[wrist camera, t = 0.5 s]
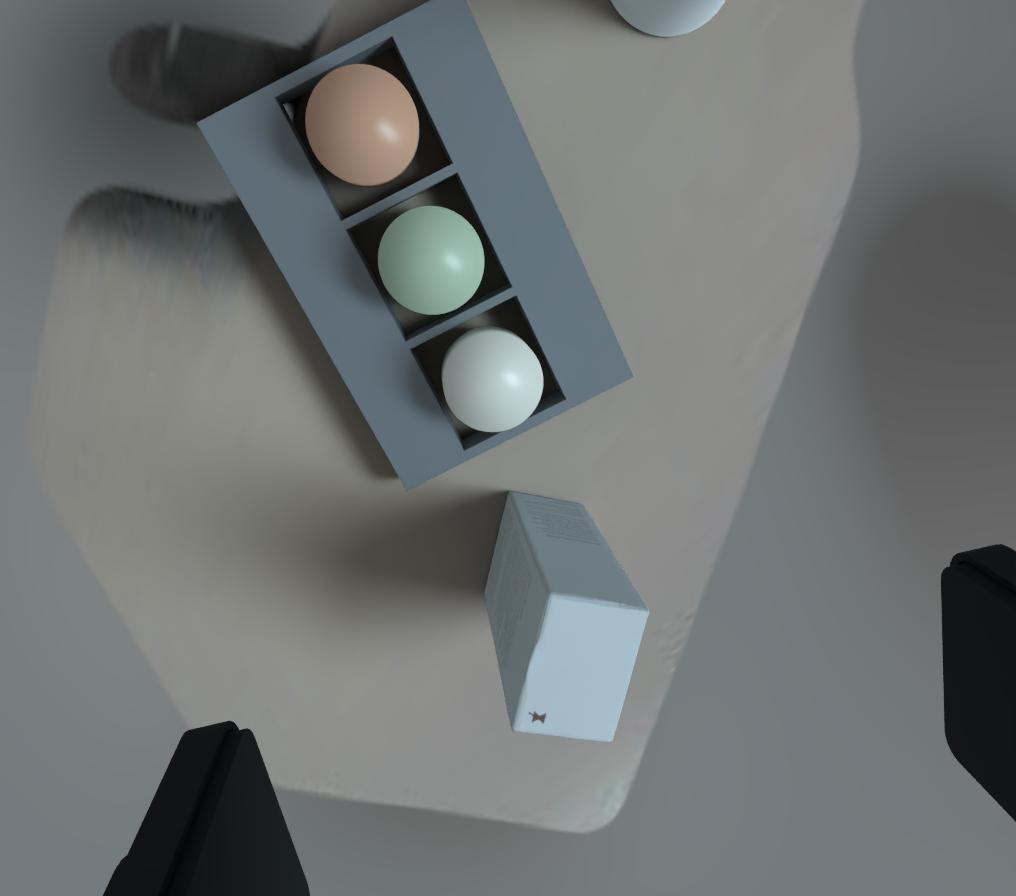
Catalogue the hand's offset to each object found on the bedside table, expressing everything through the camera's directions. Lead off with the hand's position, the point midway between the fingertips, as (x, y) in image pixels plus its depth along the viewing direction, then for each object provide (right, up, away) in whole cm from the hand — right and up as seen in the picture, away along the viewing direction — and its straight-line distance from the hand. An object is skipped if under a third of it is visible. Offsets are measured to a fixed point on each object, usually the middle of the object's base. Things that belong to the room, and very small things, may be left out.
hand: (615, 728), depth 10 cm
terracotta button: (-7, +17, +23) cm, 29 cm away
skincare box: (0, -1, +31) cm, 31 cm away
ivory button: (-2, +7, +26) cm, 27 cm away
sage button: (-5, +12, +24) cm, 28 cm away
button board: (-5, +13, +26) cm, 29 cm away
